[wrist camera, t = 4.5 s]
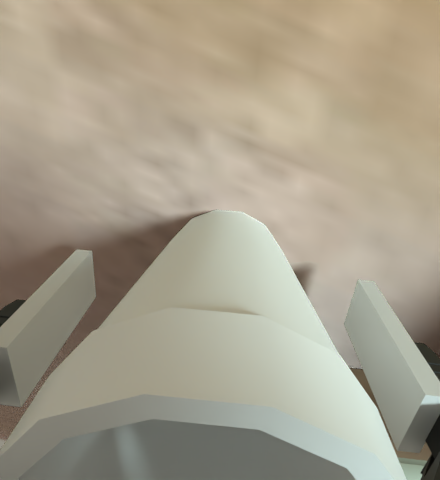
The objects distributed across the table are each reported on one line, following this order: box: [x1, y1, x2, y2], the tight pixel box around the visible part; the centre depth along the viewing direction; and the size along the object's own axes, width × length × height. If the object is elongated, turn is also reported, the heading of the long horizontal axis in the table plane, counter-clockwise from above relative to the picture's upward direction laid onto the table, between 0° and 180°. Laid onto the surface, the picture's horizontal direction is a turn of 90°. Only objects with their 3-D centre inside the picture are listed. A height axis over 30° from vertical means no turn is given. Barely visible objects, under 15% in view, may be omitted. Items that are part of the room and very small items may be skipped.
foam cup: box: [0, 210, 406, 480], centre depth 13 cm, size 10×9×13 cm
